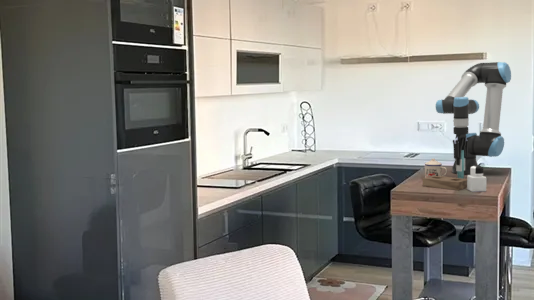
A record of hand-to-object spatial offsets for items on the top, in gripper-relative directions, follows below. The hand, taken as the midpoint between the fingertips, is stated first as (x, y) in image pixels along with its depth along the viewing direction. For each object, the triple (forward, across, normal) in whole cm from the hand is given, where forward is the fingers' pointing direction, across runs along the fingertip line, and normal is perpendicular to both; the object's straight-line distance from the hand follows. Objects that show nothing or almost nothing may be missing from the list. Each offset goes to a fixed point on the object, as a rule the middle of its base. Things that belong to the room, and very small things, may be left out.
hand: (460, 170), depth 330 cm
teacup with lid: (+7, 0, -15) cm, 16 cm away
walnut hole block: (+6, +16, 0) cm, 17 cm away
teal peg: (+4, 0, 0) cm, 4 cm away
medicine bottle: (+6, +16, +17) cm, 25 cm away
